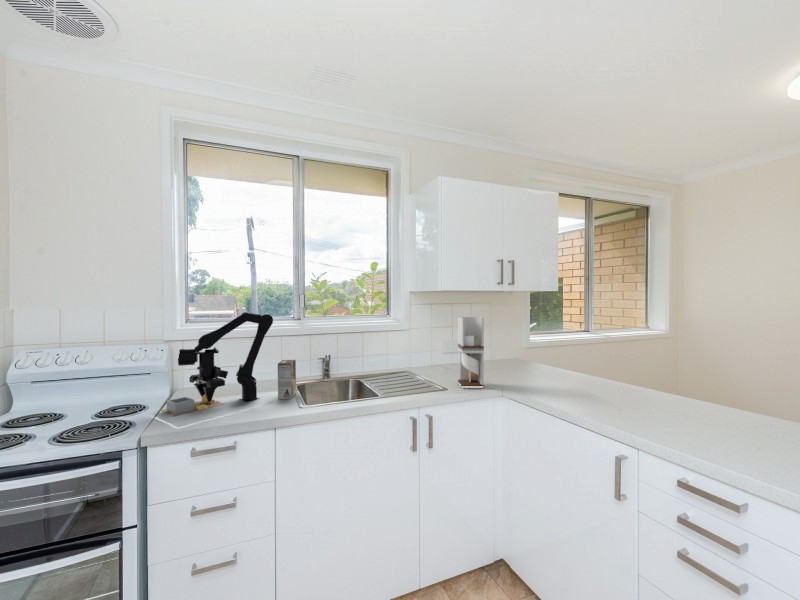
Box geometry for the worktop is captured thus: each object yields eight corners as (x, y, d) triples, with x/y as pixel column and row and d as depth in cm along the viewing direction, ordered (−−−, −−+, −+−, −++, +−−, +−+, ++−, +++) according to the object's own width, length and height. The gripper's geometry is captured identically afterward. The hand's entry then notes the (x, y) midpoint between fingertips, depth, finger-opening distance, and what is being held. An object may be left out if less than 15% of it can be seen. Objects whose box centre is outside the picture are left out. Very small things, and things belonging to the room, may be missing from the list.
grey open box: (194, 409, 149) (194, 399, 149) (175, 414, 143) (175, 403, 143) (185, 406, 154) (185, 396, 153) (166, 410, 148) (166, 400, 148)
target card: (207, 407, 151) (207, 405, 151) (198, 410, 149) (198, 408, 148) (203, 406, 154) (203, 404, 154) (194, 408, 151) (194, 406, 151)
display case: (457, 383, 196) (458, 317, 195) (477, 383, 196) (478, 317, 195) (462, 389, 184) (462, 318, 183) (483, 388, 185) (483, 318, 184)
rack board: (225, 405, 157) (225, 402, 157) (174, 417, 141) (174, 414, 141) (210, 400, 164) (210, 397, 164) (160, 411, 148) (160, 408, 148)
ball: (214, 402, 158) (214, 393, 158) (204, 405, 155) (204, 395, 155) (209, 401, 161) (209, 391, 161) (200, 403, 158) (199, 393, 157)
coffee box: (282, 393, 175) (282, 359, 175) (296, 393, 176) (296, 359, 175) (277, 399, 166) (277, 363, 166) (292, 398, 166) (292, 363, 166)
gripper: (236, 363, 159) (237, 399, 159) (214, 359, 170) (214, 393, 170) (210, 367, 150) (211, 406, 150) (188, 362, 161) (189, 398, 161)
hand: (207, 400), depth 158 cm, fingers closed on ball, 4 cm apart
